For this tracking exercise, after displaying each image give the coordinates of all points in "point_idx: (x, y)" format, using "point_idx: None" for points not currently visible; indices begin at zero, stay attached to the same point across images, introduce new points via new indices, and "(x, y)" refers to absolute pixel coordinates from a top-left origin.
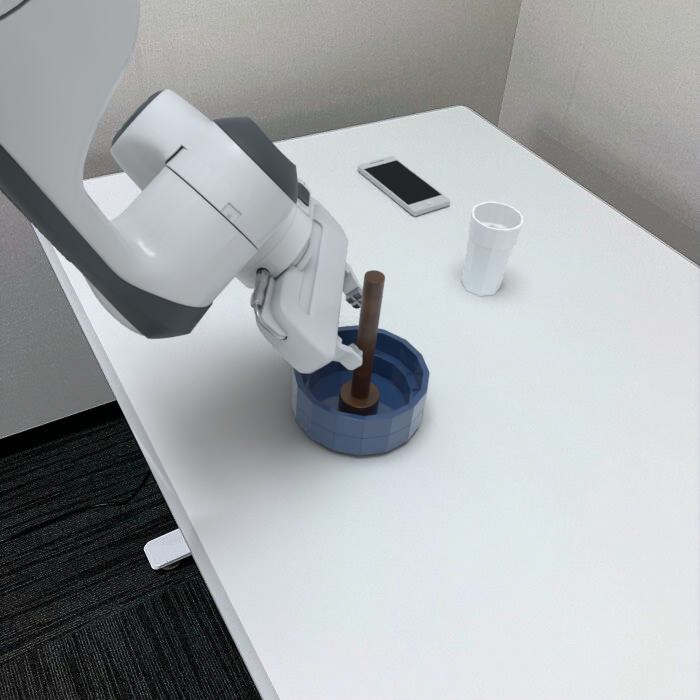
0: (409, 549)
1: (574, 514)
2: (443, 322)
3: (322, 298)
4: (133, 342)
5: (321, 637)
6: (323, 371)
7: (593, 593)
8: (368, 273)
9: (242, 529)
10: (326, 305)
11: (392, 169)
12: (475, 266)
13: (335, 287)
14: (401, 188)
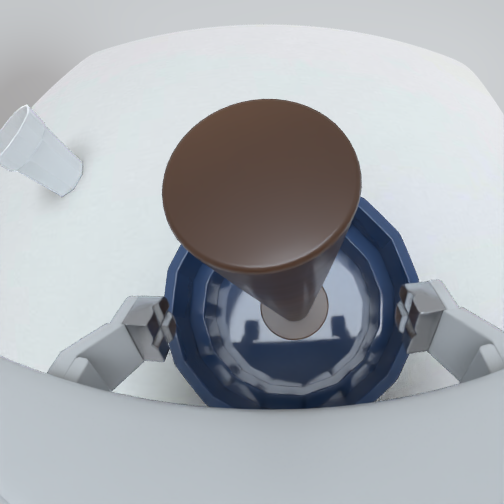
0: (477, 221)
1: (379, 83)
2: (115, 206)
3: (481, 502)
4: None
5: None
6: (239, 370)
7: (442, 88)
8: (220, 232)
9: None
10: (499, 462)
11: None
12: (52, 168)
13: (283, 465)
14: None
